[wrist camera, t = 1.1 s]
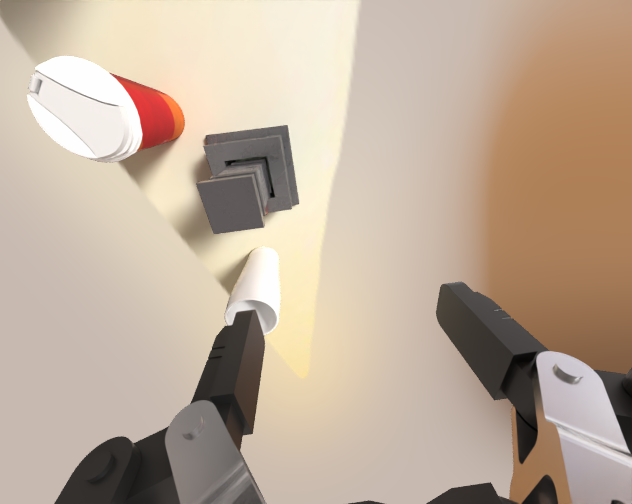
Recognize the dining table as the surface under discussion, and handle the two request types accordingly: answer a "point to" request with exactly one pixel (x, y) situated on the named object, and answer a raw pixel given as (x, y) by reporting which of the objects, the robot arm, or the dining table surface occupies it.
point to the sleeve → (255, 145)
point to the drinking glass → (258, 289)
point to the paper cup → (100, 110)
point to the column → (237, 195)
